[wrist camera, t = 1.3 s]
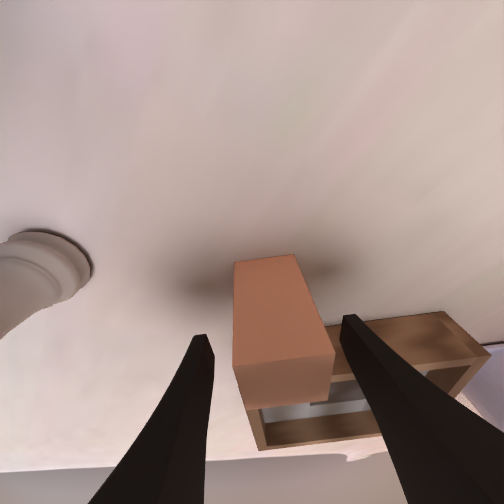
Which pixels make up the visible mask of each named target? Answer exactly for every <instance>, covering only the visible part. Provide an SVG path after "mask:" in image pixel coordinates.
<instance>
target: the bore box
mask: <svg viewBox="0 0 504 504" xmlns="http://www.w3.org/2000/svg"><path fill="white" fill-rule="evenodd" d="M364 323H365V324H366V325H367V326H368V327H369V328H370V329H371V330H372V331H373V332H374V333H376V334H377V335H378V336H379V337H380V338H381V339H382V340H383V341H384V342H385V343H386V344H387V345H388V346H390V347H391V348H392V349H393V350H394V351H395V352H396V353H397V354H399V355H400V356H401V357H402V358H403V359H404V360H405V361H407V362H408V363H409V364H410V365H411V366H413V367H414V368H415V369H416V370H417V371H419V372H420V373H421V374H422V375H424V376H425V377H426V378H427V379H429V380H430V381H431V382H433V383H434V384H435V385H436V386H438V387H439V388H440V389H442V390H443V391H444V392H446V393H447V394H448V395H450V396H451V397H453V398H455V397H456V396H457V395H458V394H459V393H460V391H461V390H462V389H463V388H464V387H465V386H466V385H467V383H468V382H469V381H470V380H471V379H472V378H473V377H474V375H475V374H476V373H477V372H478V371H479V370H480V369H481V367H482V366H483V365H484V364H485V363H486V362H487V361H488V359H489V358H490V357H491V356H492V355H491V354H490V353H489V352H488V351H487V350H486V349H485V348H483V347H482V346H481V345H480V344H479V343H478V342H477V341H476V340H475V339H474V338H473V337H471V336H470V335H469V334H468V333H467V332H466V331H465V330H464V329H463V328H462V327H460V326H459V325H458V324H457V323H456V322H455V321H454V320H453V319H452V318H451V317H449V316H448V315H447V314H446V313H445V312H444V311H443V312H435V313H427V314H420V315H412V316H404V317H397V318H389V319H381V320H373V321H366V322H364ZM325 329H326V332H327V334H328V336H329V339H330V341H331V343H332V346H333V348H334V351H335V359H334V365H333V371H332V377H331V383H330V389H329V395H328V400H326V401H318V402H310V403H302V404H294V405H286V406H278V407H270V408H262V409H254V410H246V408H245V410H246V413H247V416H248V419H249V422H250V426H251V429H252V432H253V435H254V438H255V441H256V444H257V448H258V451H263V450H271V449H279V448H287V447H296V446H304V445H312V444H320V443H328V442H336V441H344V440H353V439H361V438H369V437H377V436H382V434H381V431H380V429H379V426H378V424H377V421H376V419H375V417H374V415H373V412H372V410H371V408H370V406H369V404H368V402H367V400H366V398H365V396H364V394H363V392H362V390H361V388H360V386H359V384H358V382H357V380H356V378H355V376H354V374H353V372H352V370H351V368H350V366H349V364H348V362H347V360H346V357H345V355H344V352H343V349H342V347H341V344H340V341H339V337H340V331H341V325H335V326H327V327H325ZM238 388H239V386H238ZM239 391H240V389H239ZM240 394H241V392H240ZM241 397H242V395H241ZM242 400H243V399H242ZM243 403H244V402H243ZM244 407H245V405H244Z"/></svg>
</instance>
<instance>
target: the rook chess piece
mask: <svg viewBox="0 0 504 504" xmlns="http://www.w3.org/2000/svg"><path fill="white" fill-rule="evenodd" d="M89 278H90V267H89V263H88V261H87V259H86V257H85V255H84V254H83V253H82V252H81V251H80V250H79V249H78V248H77V247H76V246H75V245H74V244H72V243H70V242H69V241H67V240H65V239H64V238H61V237H58V236H55V235H52V234H48V233H42V232H20V233H18V234H16V235H13V236H11V237H9V239H8V241H6V242H4V243H1V244H0V339H1V338H3V337H4V336H5V335H6V334H7V333H8V332H9V331H10V330H12V329H13V328H15V327H16V326H17V325H19V324H20V323H21V322H23V321H24V320H26V319H27V318H28V317H30V316H31V315H32V314H34V313H35V312H37V311H39V310H41V309H44V308H47V307H50V306H53V304H56V303H59V302H62V301H65V300H67V299H69V298H71V297H73V296H74V295H75V293H76V292H77V291H78V290H79V289H80V288H83V287H84V286H85V285H86V283H87V282H88V281H89Z"/></svg>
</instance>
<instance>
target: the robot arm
mask: <svg viewBox="0 0 504 504" xmlns="http://www.w3.org/2000/svg"><path fill="white" fill-rule="evenodd" d="M339 341H340V344H341V347H342V349H343V352H344V355H345V357H346V360H347V362H348V364H349V366H350V368H351V370H352V372H353V374H354V376H355V378H356V380H357V382H358V384H359V386H360V388H361V390H362V392H363V394H364V396H365V398H366V400H367V402H368V404H369V406H370V408H371V410H372V412H373V415H374V417H375V419H376V421H377V424H378V426H379V429H380V431H381V434H382V436H383V439H384V441H385V444H386V446H387V449H388V451H389V454H390V456H391V459H392V462H393V464H394V467H395V469H396V472H397V475H398V478H399V480H400V483H401V485H402V488H403V491H404V494H405V497H406V499H407V502H408V504H504V343H503V344H495V345H488V346H482V347H483V348H485V349H486V350H487V351H488V352H489V353H490V354H491V355H492V356H491V357H490V358H489V359H488V361H487V362H486V363H485V364H484V365H483V366H482V367H481V369H480V370H479V371H478V372H477V373H476V374H475V375H474V377H473V378H472V379H471V380H470V381H469V382H468V383H467V385H466V386H465V387H464V388H463V389H462V390H461V392H462V393H463V394H464V395H465V396H466V398H467V399H468V400H469V401H470V402H471V404H472V405H473V406H474V407H475V408H476V410H477V411H478V412H479V413H480V414H481V416H482V417H483V418H484V419H485V420H484V419H483V418H481V417H480V416H478V415H477V414H475V413H474V412H472V411H471V410H469V409H468V408H467V407H465V406H464V405H462V404H461V403H460V402H458V401H457V400H455V399H454V398H453V397H451V396H450V395H448V394H447V393H446V392H444V391H443V390H442V389H440V388H439V387H438V386H436V385H435V384H434V383H433V382H431V381H430V380H429V379H427V378H426V377H425V376H424V375H422V374H421V373H420V372H419V371H417V370H416V369H415V368H414V367H413V366H411V365H410V364H409V363H408V362H407V361H405V360H404V359H403V358H402V357H401V356H400V355H399V354H397V353H396V352H395V351H394V350H393V349H392V348H391V347H390V346H388V345H387V344H386V343H385V342H384V341H383V340H382V339H381V338H380V337H379V336H378V335H377V334H376V333H374V332H373V331H372V330H371V329H370V328H369V327H368V326H367V325H366V324H365V323H364V322H363V321H362V320H361V319H360V318H359V317H358V316H357V315H356V314H351V315H343V320H342V325H341V331H340V337H339ZM214 364H215V356H214V353H213V350H212V348H211V345H210V343H209V340H208V337H207V335H206V334H201V335H195V336H194V337H193V338H192V341H191V343H190V345H189V347H188V350H187V352H186V354H185V356H184V358H183V360H182V362H181V364H180V366H179V368H178V370H177V372H176V374H175V376H174V377H173V379H172V381H171V383H170V385H169V387H168V388H167V390H166V392H165V394H164V395H163V397H162V399H161V401H160V402H159V404H158V406H157V407H156V409H155V411H154V412H153V414H152V415H151V417H150V419H149V420H148V422H147V423H146V425H145V426H144V428H143V429H142V431H141V432H140V434H139V435H138V437H137V438H136V440H135V441H134V443H133V444H132V445H131V447H130V448H129V450H128V451H127V453H126V454H125V455H124V457H123V458H122V460H121V461H120V462H119V464H118V465H117V466H116V468H115V469H114V470H113V472H112V473H111V474H110V475H109V477H108V478H107V479H106V481H105V482H104V484H103V485H102V486H101V487H100V489H99V490H98V491H97V492H96V494H95V495H94V496H93V498H92V499H91V500H90V501H89V503H88V504H204V480H205V458H206V440H207V429H208V421H209V414H210V406H211V398H212V390H213V382H214Z"/></svg>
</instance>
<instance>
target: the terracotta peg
mask: <svg viewBox="0 0 504 504" xmlns="http://www.w3.org/2000/svg"><path fill="white" fill-rule="evenodd" d="M334 359H335V351H334V348H333V346H332V343H331V341H330V339H329V336H328V334H327V332H326V329H325V327H324V325H323V322H322V320H321V318H320V315H319V313H318V311H317V308H316V306H315V304H314V301H313V299H312V297H311V294H310V292H309V289H308V287H307V285H306V282H305V280H304V278H303V275H302V273H301V271H300V268H299V266H298V264H297V261H296V259H295V257H294V254H292V255H285V256H277V257H270V258H262V259H255V260H248V261H240V262H234V307H233V355H232V367H233V370H234V373H235V376H236V380H237V383H238V386H239V389H240V392H241V395H242V399H243V402H244V405H245V408H246V410H254V409H262V408H270V407H278V406H286V405H294V404H302V403H310V402H318V401H326V400H328V395H329V389H330V383H331V377H332V371H333V365H334Z"/></svg>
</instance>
